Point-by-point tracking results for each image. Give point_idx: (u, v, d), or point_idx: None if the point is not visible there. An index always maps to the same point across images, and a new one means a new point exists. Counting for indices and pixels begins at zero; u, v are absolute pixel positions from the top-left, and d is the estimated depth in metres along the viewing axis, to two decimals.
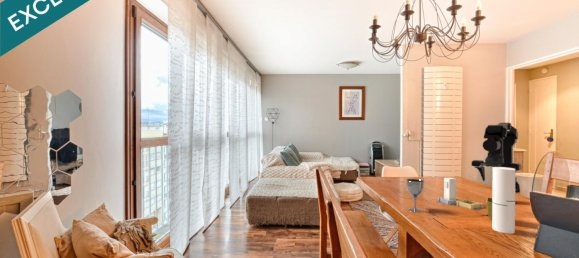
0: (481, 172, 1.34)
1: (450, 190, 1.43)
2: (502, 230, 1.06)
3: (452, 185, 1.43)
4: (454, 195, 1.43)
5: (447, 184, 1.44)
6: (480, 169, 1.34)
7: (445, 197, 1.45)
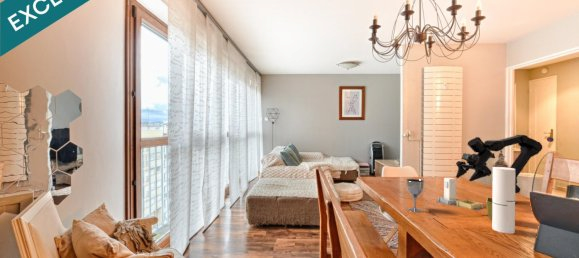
0: (459, 170, 1.51)
1: (450, 190, 1.43)
2: (502, 230, 1.06)
3: (452, 185, 1.43)
4: (454, 195, 1.43)
5: (447, 184, 1.44)
6: (459, 167, 1.52)
7: (445, 197, 1.45)
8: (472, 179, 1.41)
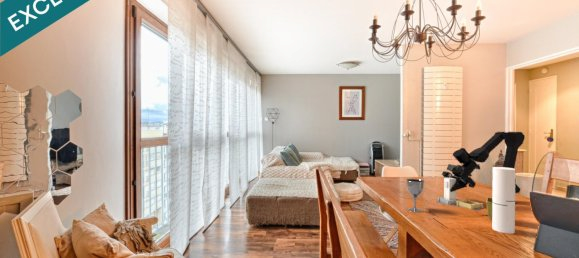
0: None
1: None
2: (502, 230, 1.06)
3: (452, 185, 1.43)
4: (454, 195, 1.43)
5: (447, 184, 1.44)
6: None
7: (445, 197, 1.45)
8: (453, 189, 1.42)
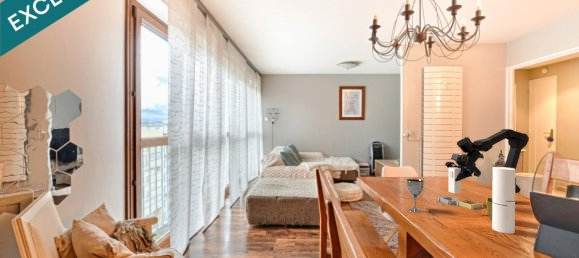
0: None
1: None
2: (502, 230, 1.06)
3: (457, 174, 1.41)
4: (459, 185, 1.41)
5: (452, 174, 1.42)
6: None
7: (450, 187, 1.43)
8: (458, 179, 1.40)
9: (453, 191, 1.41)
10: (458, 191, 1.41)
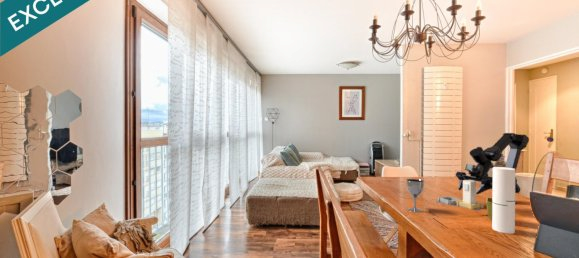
0: (460, 181, 1.43)
1: (470, 193, 1.36)
2: (502, 230, 1.06)
3: (473, 187, 1.36)
4: (474, 199, 1.37)
5: (468, 187, 1.36)
6: (460, 178, 1.44)
7: (464, 201, 1.38)
8: (479, 192, 1.33)
9: None
10: None
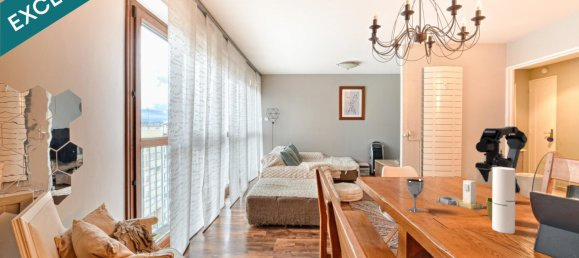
0: (488, 174, 1.39)
1: (471, 193, 1.36)
2: (502, 230, 1.06)
3: (473, 188, 1.36)
4: (474, 199, 1.36)
5: (468, 187, 1.36)
6: (489, 171, 1.38)
7: (465, 201, 1.38)
8: None
9: None
10: None
